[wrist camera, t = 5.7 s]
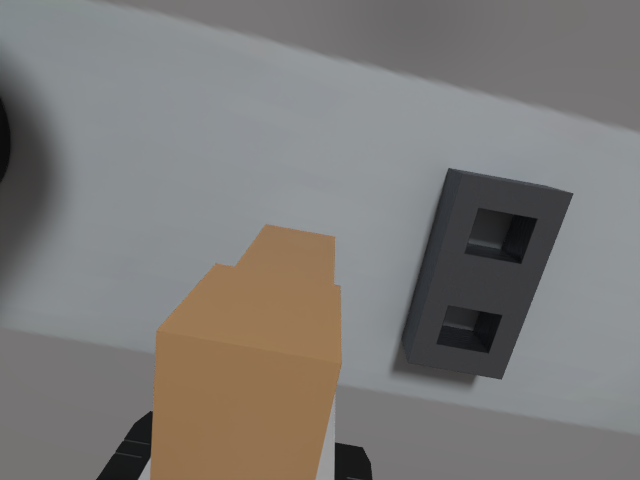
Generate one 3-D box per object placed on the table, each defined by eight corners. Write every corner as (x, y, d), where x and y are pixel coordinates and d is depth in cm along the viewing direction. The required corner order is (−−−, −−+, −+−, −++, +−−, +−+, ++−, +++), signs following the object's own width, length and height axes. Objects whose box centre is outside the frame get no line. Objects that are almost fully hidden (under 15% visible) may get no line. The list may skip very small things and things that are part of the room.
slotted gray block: (485, 354, 34) (501, 379, 31) (401, 339, 34) (408, 362, 31) (546, 185, 29) (573, 193, 26) (448, 168, 29) (462, 173, 26)
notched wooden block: (295, 438, 19) (253, 753, 9) (238, 428, 19) (138, 734, 9) (338, 216, 15) (341, 362, 6) (268, 203, 15) (156, 330, 6)
